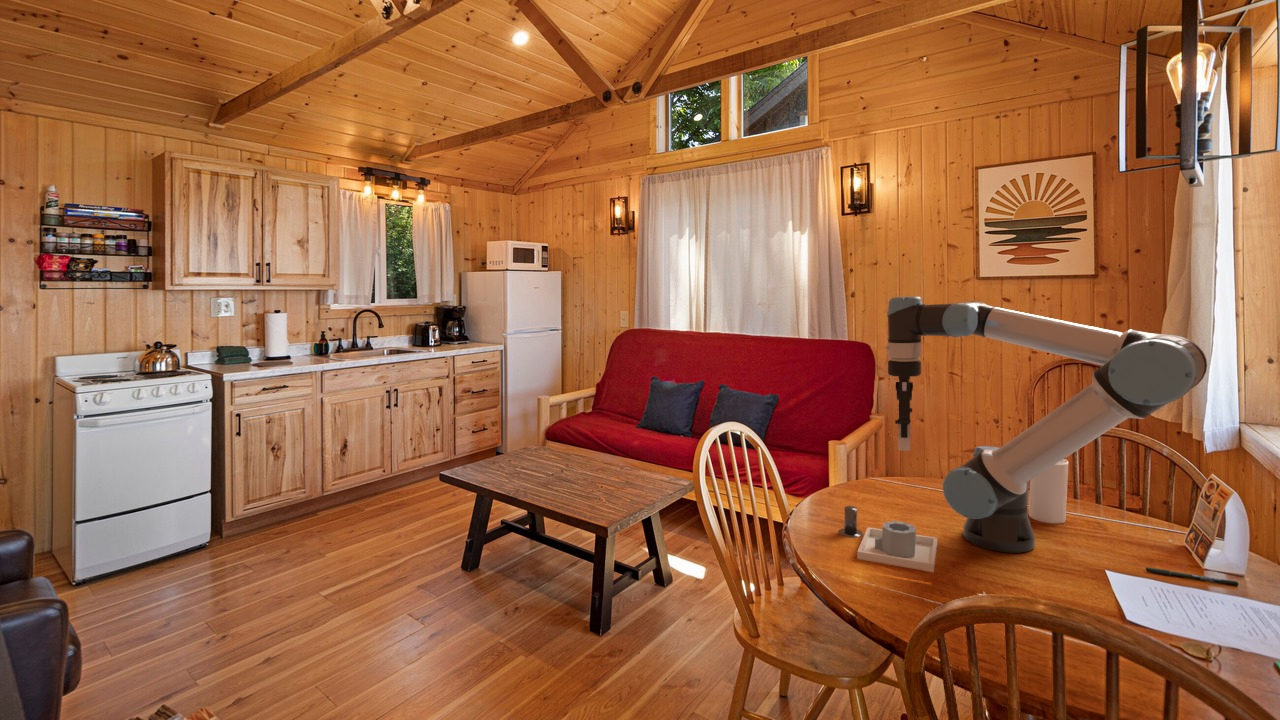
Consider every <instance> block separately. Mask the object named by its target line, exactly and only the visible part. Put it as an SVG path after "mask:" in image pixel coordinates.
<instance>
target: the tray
mask: <svg viewBox="0 0 1280 720" xmlns="http://www.w3.org/2000/svg"><path fill="white" fill-rule="evenodd" d="M882 532H883V528H882V529H881V528H874V527H870V526H869V527H866V530H865V533H864V534H863V536H862V537H863V538H862V540H861V542H860V544H859V546H858V549H857V552H856V553H857V554H856V555H857V556H856V559H857V560H859V561H867V562H871V563H876V564H877V563H878V564H881V565H883V564H884V565H888V566H894V567H901V568H906V569H912V570H917V571H923V572H928V573H932V574H933V573H935V565H936V558H937V552H938V551H937V550H938V537H935V536H928V535H922V534H916V548H915V556H914V557H909V558H901V557H895V556H889V555H888V554H886V553H884V552H883V551H882V550H879V549H875V538H876V537H880V538H882Z"/></svg>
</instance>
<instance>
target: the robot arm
mask: <svg viewBox="0 0 1280 720" xmlns="http://www.w3.org/2000/svg"><path fill="white" fill-rule="evenodd" d="M922 301H923V300H922V298H921V296H896V297H895V296H894V297H891V298H890V299H889V300H888V305H887V306H888V307H887V308H888V309H887V326H888V329H887V330H888V332H887V335H888V337H887V338H888V339H887V342H888V343H887V344H888V345H885V348H884V349H885V351H887V357H888V358H889V360H888V361H887V374H888V375H889V376H891V377H897V378H898V381H895V392H896V400H897V401H898V404H897V405H898V410H897V411H898V414H897V415H898V417H897V418H898V419H895V420H894V422H895V423H894V424H895V425H897V450H898V451H902V452H904V451H905V452H910V451H911V413H913V408H911V401H912V399H913V391H914V382H913V381H912V382H911V381H910V379H911V377H913V378H914V377H919V376H921V374H922V361H921V360H920V359H921V358H922V336H923V337H925V336H927V337H930V336H931V337H952V338H959V337H960V338H961V337H970V336H972V335H973V336H978V337H983V338H988V339H992V340H995V341H1000V342H1005V343H1009V344H1012V345H1016V346H1021V347H1025V348H1029V349H1032V350H1033V349H1034V350H1037V351H1040V352H1046V353H1048V354H1049V353H1050V354H1054V355H1057V356H1061V357H1065V358H1070V359H1074V360H1078V361H1082V362H1087V363H1090V364H1094V365H1098V366H1100V367H1099V368H1097V369H1096V370H1094V371H1092V374H1091V375H1092V376H1091V384H1089V385H1087V386H1086V387H1085V388H1083V389H1081V390H1080V391H1079V392H1077V393H1076V394H1075V395H1073V396H1072V397H1071V398H1069V399H1067V400H1066V401H1065V402H1063V403H1062V404H1061V405H1059V406H1057V407H1056V408H1055V409H1053V410H1052V411H1051V412H1049V413H1048V414H1046V415H1045V416H1043V417H1042V418H1041V419H1039V420H1038V421H1036V422H1035V423H1033V424H1032V425H1031V426H1029V427H1028V428H1026V429H1025V430H1023V431H1022V432H1020V433H1019V434H1018V435H1016V436H1014V438H1012V439H1011V440H1009V441H1008V442H1006V443H1005V444H1004V445H1002V446H1000V447H997V446H987V445H986V446H985V445H983V446H982V445H981V446H976V447H975V448H974V451H973V454H972V456H973V457H972V458H971V459H969V460H968V461H966V462H965V463H963V464H962V465H960V466H959V467H955V468H953V469H951V470H950V471H949V473H948V474H947V475H946V476H945V478H944V479H943V483H942V492H943V497H944V499H945V500H946V502H947V504H948V505H949V506H950V507H951V509H952V510H953V511H955V513H957V514H959V515H960V516H962V517H965V518H966V520H965V522H964V525H963V534H962V535H963V537H964V539H965V540H966V541H967V542H968V543H971V544H973V545H974V546H978V547H979V548H983V549H986V550H990V551H994V552H999V553H1001V552H1002V553H1009V554H1012V553H1013V554H1014V553H1015V554H1018V553H1019V554H1020V553H1026V552H1029V551H1032V550H1033V549H1035V545H1036V544H1035V543H1036V541H1035V540H1036V539H1035V538H1036V537H1035V534H1034V530H1033V527H1032V525H1031V524H1032V523H1031V521H1030V517H1029V514H1028V507H1029V487H1030V480H1031V479H1033V478H1034V477H1036V476H1037V475H1039V474H1041V473H1042V472H1044V471H1045V470H1047V469H1048V468H1050V467H1052V466H1053V465H1055V464H1056V463H1058V462H1059V461H1061V460H1063V459H1066V458H1068V457H1069V456H1071V455H1072V454H1074V453H1075V452H1077V451H1079V450H1080V449H1081V448H1083V447H1084V446H1087V445H1088V444H1089V443H1091V442H1093V441H1094V440H1096V439H1097V438H1099V437H1100V436H1102V435H1104V434H1105V433H1106V432H1109V431H1110V430H1111V429H1113V428H1114V427H1116V426H1118V425H1120V424H1121V423H1123V422H1124V421H1125V420H1127V419H1139V420H1144V419H1146V418H1147V417H1149V416H1150V415H1152V414H1154V413H1156V412H1157V411H1158V410H1160V409H1162V408H1164V407H1165V406H1166V405H1168V404H1170V403H1172V402H1175V401H1177V400H1180V398H1182V397H1183V396H1185V395H1186V394H1187V393H1189V392H1190V391H1191V390H1192V389H1193V388H1195V387H1197V386H1198V385H1199V384H1200V383H1201V381H1202V380H1203V379H1204V378H1205V376H1206V374H1207V371H1208V369H1207V368H1208V360H1207V357H1206V354H1205V353H1204V351H1203V350H1202V349H1201V347H1199V346H1198V344H1196V342H1194V341H1192V340H1190V339H1188V338H1186V337H1183V336H1180V335H1174V334H1164V333H1163V334H1161V333H1151V332H1145V331H1141V330H1134V329H1128V330H1126V331H1124V332H1120V331H1116V330H1110V329H1105V328H1100V327H1096V326H1092V325H1091V326H1089V325H1085V324H1079V323H1074V322H1071V321H1065V320H1062V319H1061V320H1060V319H1056V318H1052V317H1051V318H1050V317H1045V316H1041V315H1037V314H1031V313H1027V312H1026V313H1025V312H1023V311H1021V312H1020V311H1016V310H1012V309H1008V308H1007V309H1006V308H1002V307H997V306H991V305H987V304H986V303H985V302H981V301H974V300H973V301H972V300H970V301H967V302H957V303H942V304H941V303H938V304H937V303H936V304H928V303H927V304H923V302H922Z"/></svg>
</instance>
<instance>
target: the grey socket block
mask: <svg viewBox="0 0 1280 720" xmlns="http://www.w3.org/2000/svg"><path fill="white" fill-rule="evenodd" d="M916 527H917V526H914V525H912V524H910V523H908V522H904V521H895V520H892V521H887V522H885V521H884V523H883V525H882V529H883V532H882V538H880V537H876V538H875V549H879V550H882V551H883V552H884V553H886V554H888V555H889V556H895V557H901V558H909V557H914V556H915V548H916V535H917V534H916V533H917V528H916Z"/></svg>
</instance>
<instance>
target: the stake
mask: <svg viewBox="0 0 1280 720" xmlns="http://www.w3.org/2000/svg"><path fill="white" fill-rule="evenodd" d="M857 525H858V508H857V507H856V506H854V505H845V507H844V525H843V526H844V528H841V529H839V530H838V534H839V535H840V536H843V537H846V538H851V539H855V538H861V537H864V533H863V532H862V531H861V530H859V529H858V526H857Z"/></svg>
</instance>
